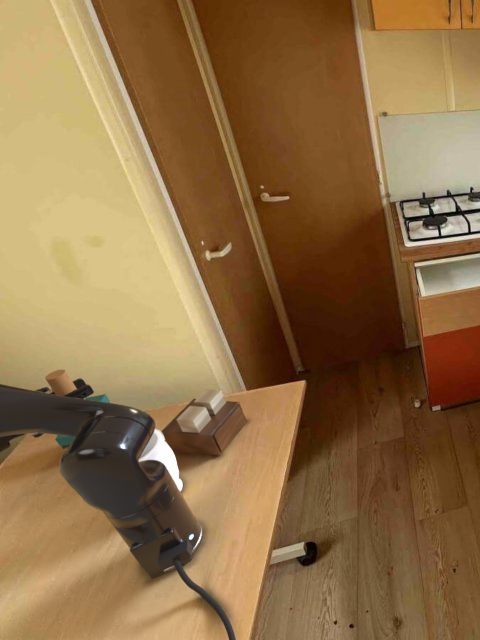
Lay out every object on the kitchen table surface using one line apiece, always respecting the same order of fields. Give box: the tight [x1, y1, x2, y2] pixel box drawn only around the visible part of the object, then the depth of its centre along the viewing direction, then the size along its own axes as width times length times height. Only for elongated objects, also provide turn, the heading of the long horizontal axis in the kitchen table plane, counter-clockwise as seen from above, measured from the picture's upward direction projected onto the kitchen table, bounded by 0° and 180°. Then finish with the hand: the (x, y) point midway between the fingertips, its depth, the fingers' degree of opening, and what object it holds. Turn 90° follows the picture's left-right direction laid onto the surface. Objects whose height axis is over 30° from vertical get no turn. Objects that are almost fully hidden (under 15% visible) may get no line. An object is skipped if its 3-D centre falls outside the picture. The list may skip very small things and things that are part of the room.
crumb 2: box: [194, 389, 227, 415], centre depth 102 cm, size 4×4×4 cm
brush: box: [44, 369, 111, 449], centre depth 84 cm, size 11×4×14 cm, turn 18°
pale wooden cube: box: [176, 406, 211, 433], centre depth 97 cm, size 4×4×4 cm
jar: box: [139, 428, 184, 493], centre depth 86 cm, size 11×10×15 cm
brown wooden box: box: [160, 398, 248, 457], centre depth 102 cm, size 12×10×7 cm
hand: (87, 385), depth 85 cm, fingers closed on brush, 3 cm apart
